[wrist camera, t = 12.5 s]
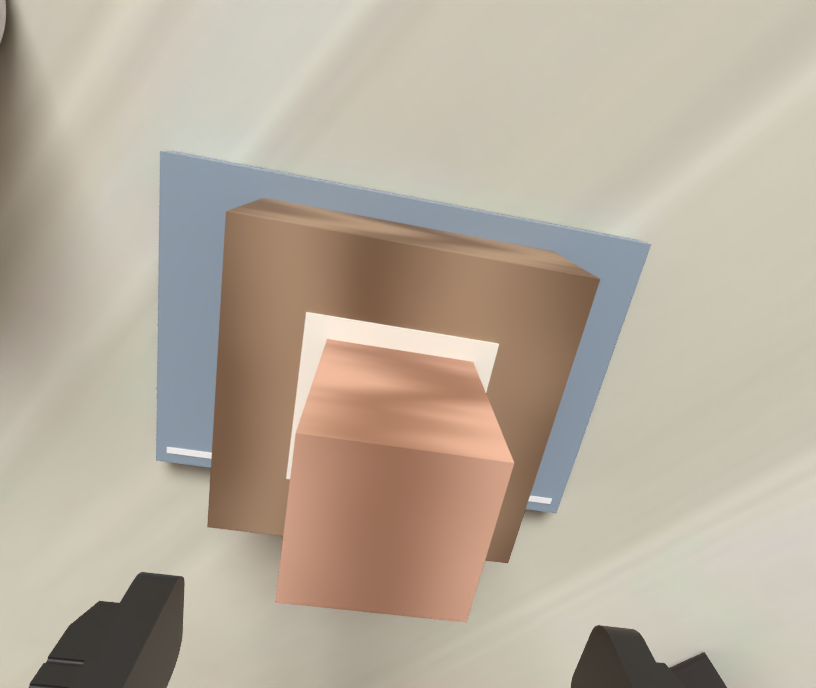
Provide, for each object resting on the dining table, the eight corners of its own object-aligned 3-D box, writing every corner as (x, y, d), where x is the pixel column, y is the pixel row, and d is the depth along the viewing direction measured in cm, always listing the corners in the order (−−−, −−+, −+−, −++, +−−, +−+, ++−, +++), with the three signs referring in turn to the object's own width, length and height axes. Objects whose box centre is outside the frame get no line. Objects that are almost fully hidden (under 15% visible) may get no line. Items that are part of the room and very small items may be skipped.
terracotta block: (473, 361, 17) (514, 463, 12) (443, 482, 19) (466, 622, 13) (326, 338, 17) (295, 433, 11) (309, 465, 18) (275, 602, 13)
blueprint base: (637, 240, 22) (727, 271, 16) (549, 498, 27) (594, 594, 21) (173, 151, 20) (84, 150, 14) (166, 446, 25) (98, 536, 19)
